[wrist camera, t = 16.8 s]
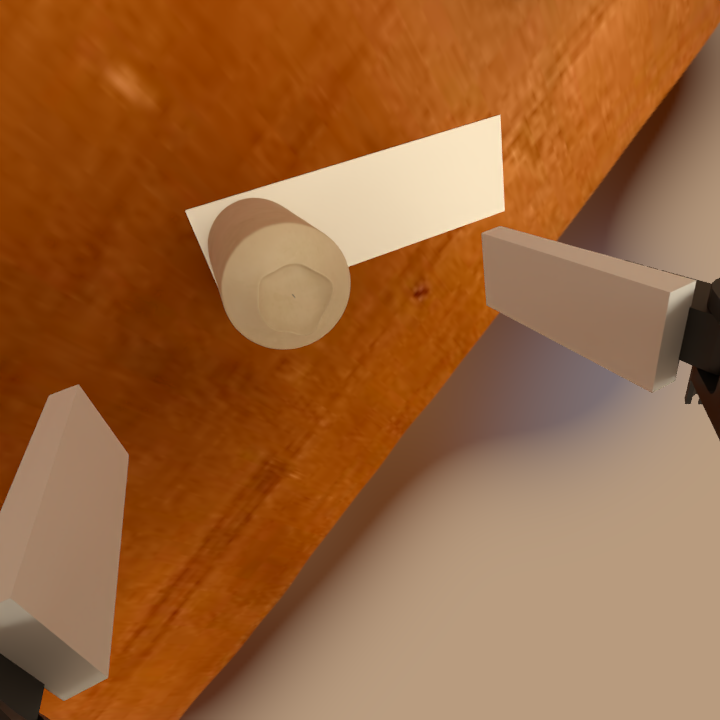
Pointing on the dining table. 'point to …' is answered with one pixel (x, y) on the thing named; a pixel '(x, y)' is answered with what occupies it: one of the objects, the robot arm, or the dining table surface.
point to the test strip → (389, 193)
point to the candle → (277, 274)
